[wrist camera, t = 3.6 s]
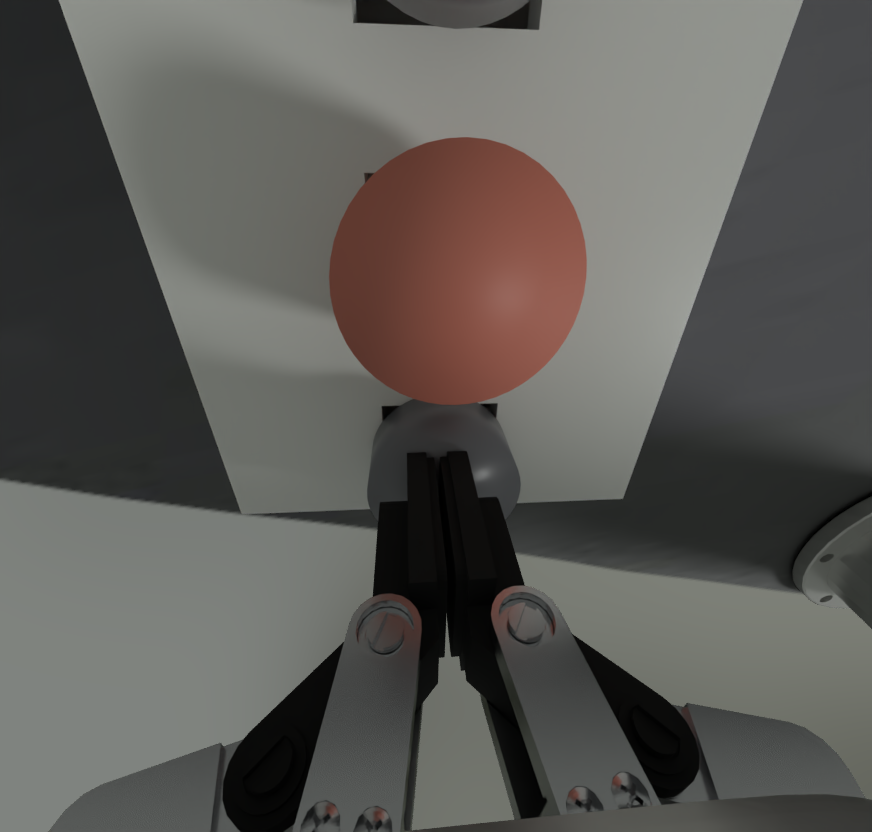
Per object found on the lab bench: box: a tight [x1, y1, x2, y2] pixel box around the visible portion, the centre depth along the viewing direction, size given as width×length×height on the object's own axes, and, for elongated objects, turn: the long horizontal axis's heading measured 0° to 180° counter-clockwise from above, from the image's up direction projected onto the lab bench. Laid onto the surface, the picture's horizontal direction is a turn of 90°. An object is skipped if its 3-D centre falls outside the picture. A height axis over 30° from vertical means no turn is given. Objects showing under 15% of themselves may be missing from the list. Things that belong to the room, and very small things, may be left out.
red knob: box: [329, 137, 587, 405], centre depth 9 cm, size 4×4×6 cm
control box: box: [59, 0, 803, 514], centre depth 12 cm, size 14×17×6 cm
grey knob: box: [367, 399, 521, 521], centre depth 13 cm, size 4×4×6 cm
